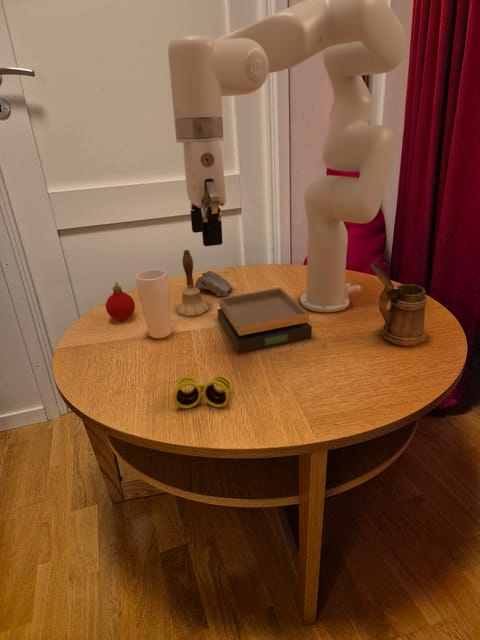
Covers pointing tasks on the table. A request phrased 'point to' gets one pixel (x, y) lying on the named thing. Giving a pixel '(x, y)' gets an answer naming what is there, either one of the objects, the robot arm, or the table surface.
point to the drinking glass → (155, 301)
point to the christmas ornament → (120, 304)
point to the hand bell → (191, 292)
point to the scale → (264, 335)
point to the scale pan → (262, 311)
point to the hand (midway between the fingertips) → (206, 238)
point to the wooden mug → (402, 311)
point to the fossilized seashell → (213, 284)
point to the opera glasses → (208, 390)
